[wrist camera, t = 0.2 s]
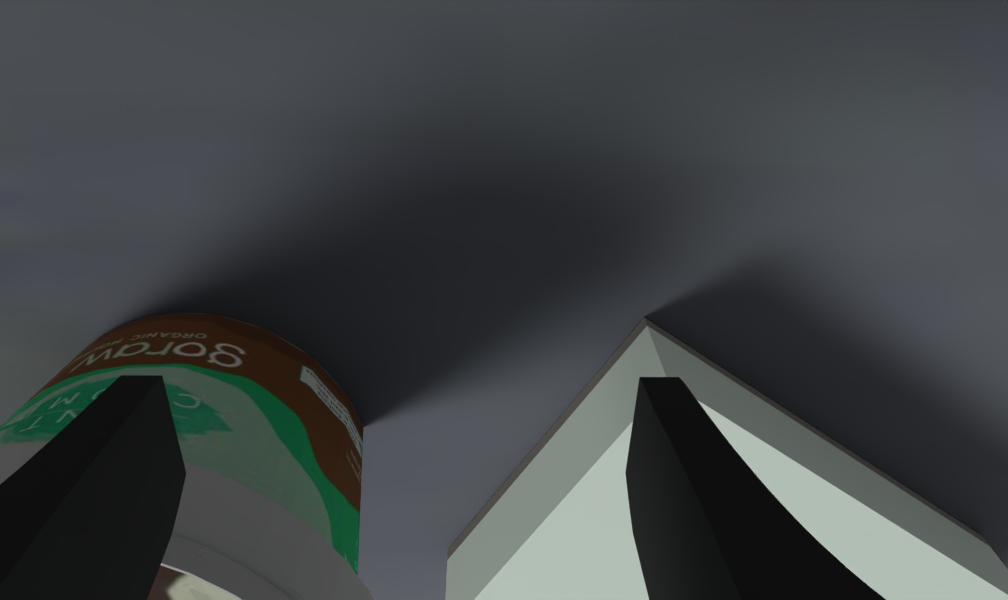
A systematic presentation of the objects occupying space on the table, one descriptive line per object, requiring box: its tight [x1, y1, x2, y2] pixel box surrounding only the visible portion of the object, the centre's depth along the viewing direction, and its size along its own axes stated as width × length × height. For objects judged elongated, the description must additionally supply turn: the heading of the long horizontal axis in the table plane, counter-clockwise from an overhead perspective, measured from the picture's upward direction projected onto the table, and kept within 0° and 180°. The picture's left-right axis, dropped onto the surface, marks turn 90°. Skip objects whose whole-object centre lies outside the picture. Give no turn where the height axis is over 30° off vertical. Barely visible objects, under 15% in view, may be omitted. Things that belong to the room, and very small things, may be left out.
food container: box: [0, 312, 374, 600], centre depth 21 cm, size 12×6×10 cm, turn 103°
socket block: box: [445, 318, 1008, 600], centre depth 27 cm, size 10×14×4 cm
